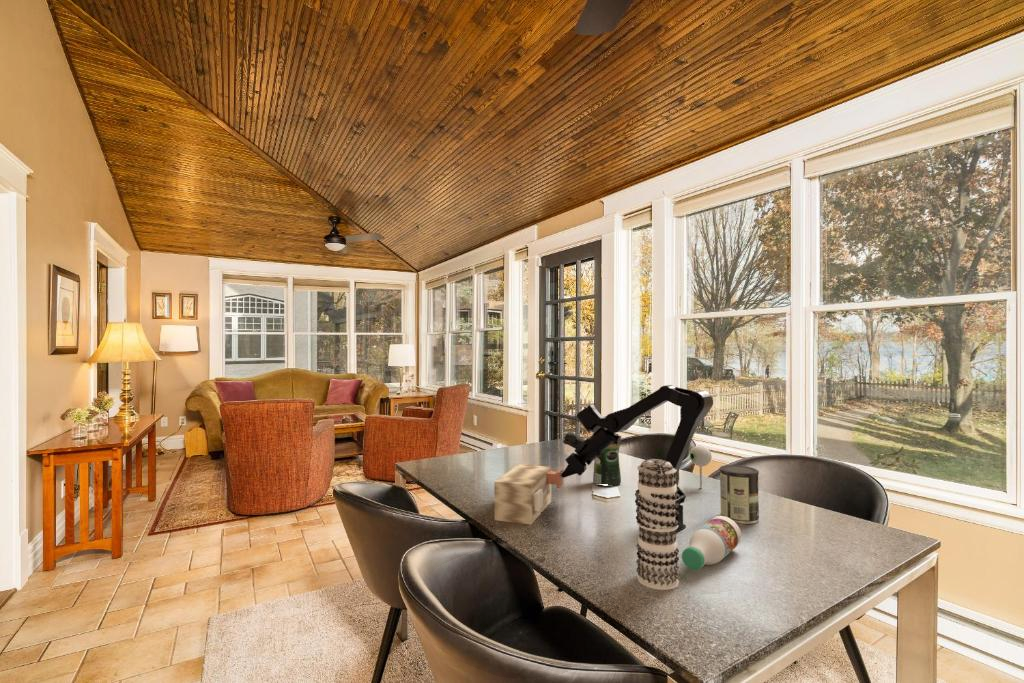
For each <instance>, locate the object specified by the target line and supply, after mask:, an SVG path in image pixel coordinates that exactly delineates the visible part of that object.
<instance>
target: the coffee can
mask: <svg viewBox="0 0 1024 683" xmlns="http://www.w3.org/2000/svg"><path fill="white" fill-rule="evenodd" d="M718 470H719V490H720V494H719V495H720V496H719V497H720V515H719V516H725V517H728V518H730V519H732V520H733V521H734V522H735V523H736V524H741V525H742V524H743V525H744V524H745V525H752V524H758V523H759V522H760V506H759V505H760V504H759V503H760V501H759V499H760V498H759V472H760V471H759V470H758V469H756V468H755V467H751V466H746V465H740V464H739V465H738V464H737V465H734V464H729V465H728V464H727V465H721V466H720V467H719V469H718Z"/></svg>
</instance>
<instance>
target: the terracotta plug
mask: <svg viewBox="0 0 1024 683" xmlns="http://www.w3.org/2000/svg"><path fill="white" fill-rule="evenodd" d="M563 471H564V468H559V469H558V470H557V471H554V470H551V471H548V472H547V484H551V485H555V486H556V489H561V487H562V486H563V485H564V478H563V477H562V476H561V474H562V473H563Z"/></svg>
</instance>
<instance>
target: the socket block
mask: <svg viewBox="0 0 1024 683" xmlns="http://www.w3.org/2000/svg"><path fill="white" fill-rule="evenodd" d="M548 471H552V466H544V465H533V464H523V463H521V464H520V463H519V464H517V465H515V466H514V467H513V468H511V469H510V470H509V471H507V472H506V473H504V474H503V475H502V476H500V477H499V478H497V479H496V480H494V482H493V483H494V484H493V486H494V490H493V491H494V493H493V494H494V496H493V498H494V499H493V500H494V504H493V505H494V506H493V507H494V521H498V522H499V521H500V522H506V523H515V524H523V525H531V526H532V524H533V523H534V522H535V521H536V519H538V517H539V516H541V514H542V513H543V512H544V511H545V509H546V508H547V507H548V505H549V504H550V503H551V502H552V484H547V472H548ZM539 489H543V506H542V507H541V509H540V510H539V511H535V507H533V494H534V493H535V492H537V491H538V490H539ZM541 512H542V513H541Z"/></svg>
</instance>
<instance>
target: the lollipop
mask: <svg viewBox="0 0 1024 683" xmlns="http://www.w3.org/2000/svg"><path fill="white" fill-rule="evenodd" d="M712 457H713V456H712V453H711V450H710V449H709V448H708V447H706V446H704V445H695V446H694V447H693V448H691V450H690V452H689V459H690V461H691V463H693V464H694V465H695V466H697V467H699V489H700V488H702V489H703V470H702V467H706V466H707V465H709V464H710V463H711V461H712Z"/></svg>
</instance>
